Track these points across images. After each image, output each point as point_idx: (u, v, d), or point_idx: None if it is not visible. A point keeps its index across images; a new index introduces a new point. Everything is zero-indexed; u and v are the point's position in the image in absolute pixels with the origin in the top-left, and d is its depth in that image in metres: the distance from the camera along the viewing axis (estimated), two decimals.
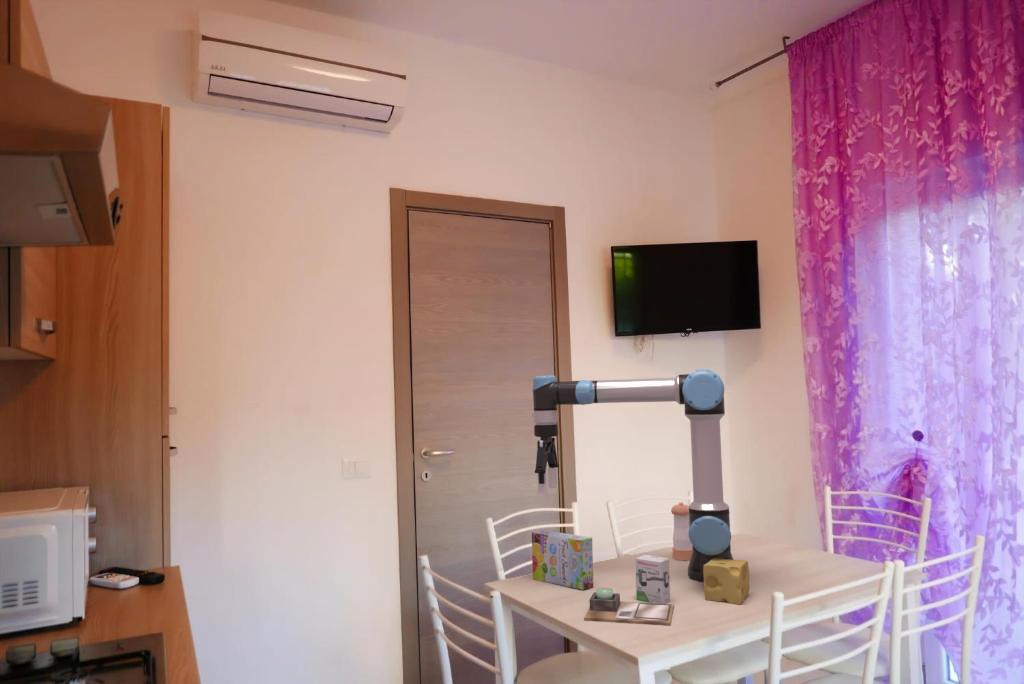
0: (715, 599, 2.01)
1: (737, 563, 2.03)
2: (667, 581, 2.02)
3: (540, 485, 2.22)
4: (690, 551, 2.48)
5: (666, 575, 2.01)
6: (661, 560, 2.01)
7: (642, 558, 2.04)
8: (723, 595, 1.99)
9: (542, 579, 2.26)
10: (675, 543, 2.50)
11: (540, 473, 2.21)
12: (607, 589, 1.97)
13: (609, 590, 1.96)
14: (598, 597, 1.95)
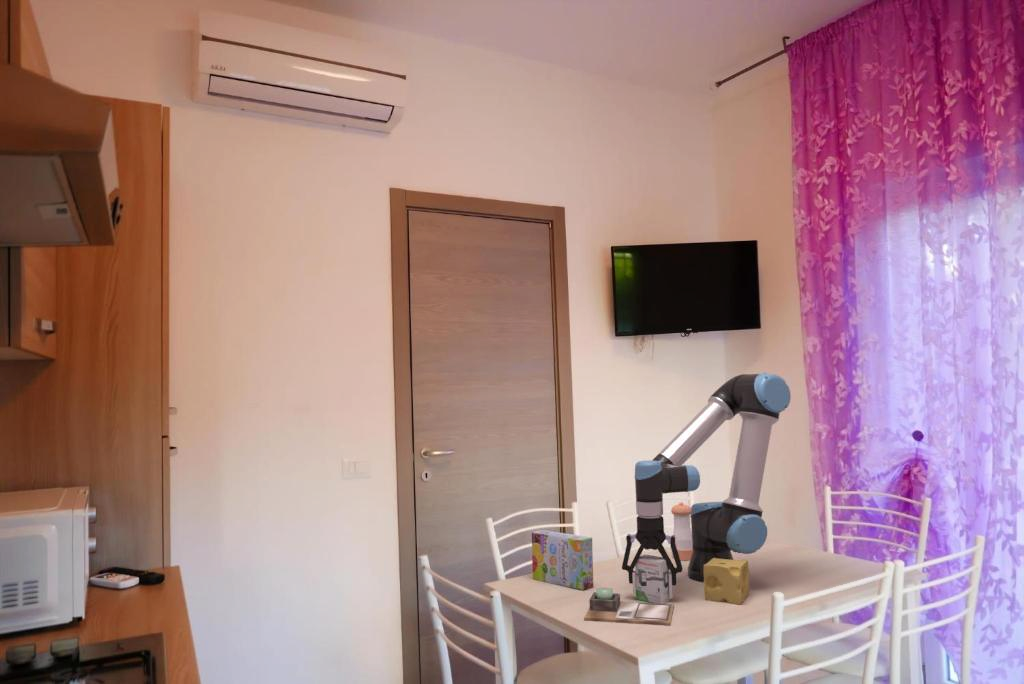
0: (715, 599, 2.01)
1: (737, 563, 2.03)
2: (667, 581, 2.02)
3: None
4: (690, 551, 2.48)
5: (666, 575, 2.01)
6: (661, 560, 2.01)
7: (642, 558, 2.04)
8: (723, 595, 1.99)
9: (542, 579, 2.26)
10: (675, 543, 2.50)
11: None
12: (607, 589, 1.97)
13: (609, 590, 1.96)
14: (598, 597, 1.95)
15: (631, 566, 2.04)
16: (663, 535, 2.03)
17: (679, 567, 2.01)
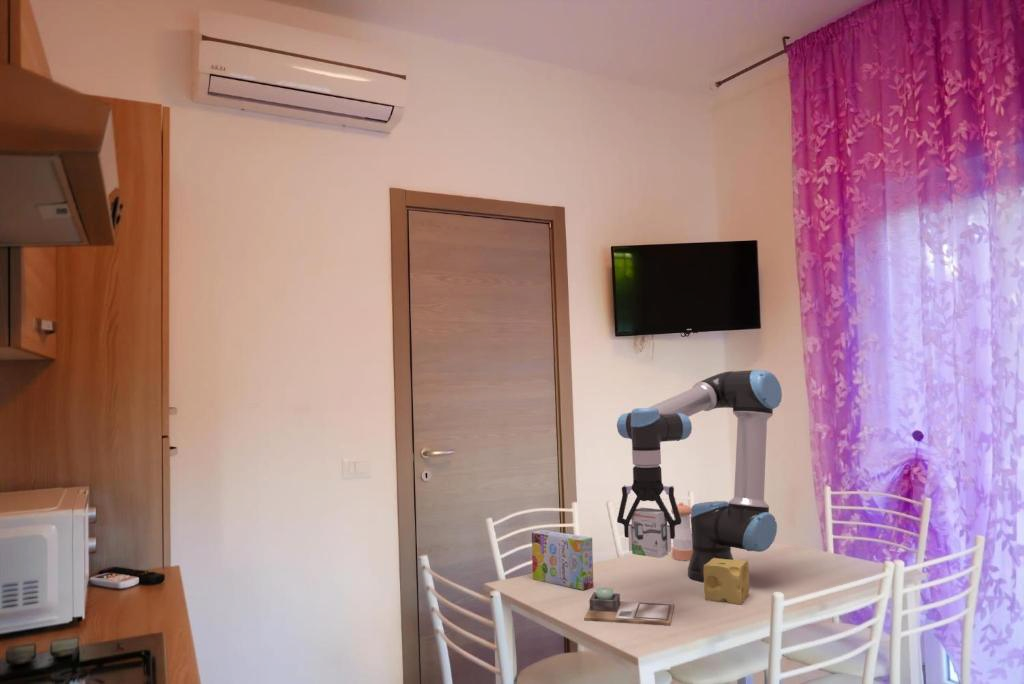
0: (715, 599, 2.01)
1: (737, 563, 2.03)
2: (665, 534, 1.90)
3: None
4: (690, 551, 2.48)
5: (664, 527, 1.90)
6: (658, 512, 1.90)
7: (638, 510, 1.93)
8: (723, 595, 1.99)
9: (542, 579, 2.26)
10: (675, 543, 2.50)
11: None
12: (607, 589, 1.97)
13: (609, 590, 1.96)
14: (598, 597, 1.95)
15: (627, 519, 1.93)
16: (661, 485, 1.91)
17: (678, 519, 1.89)
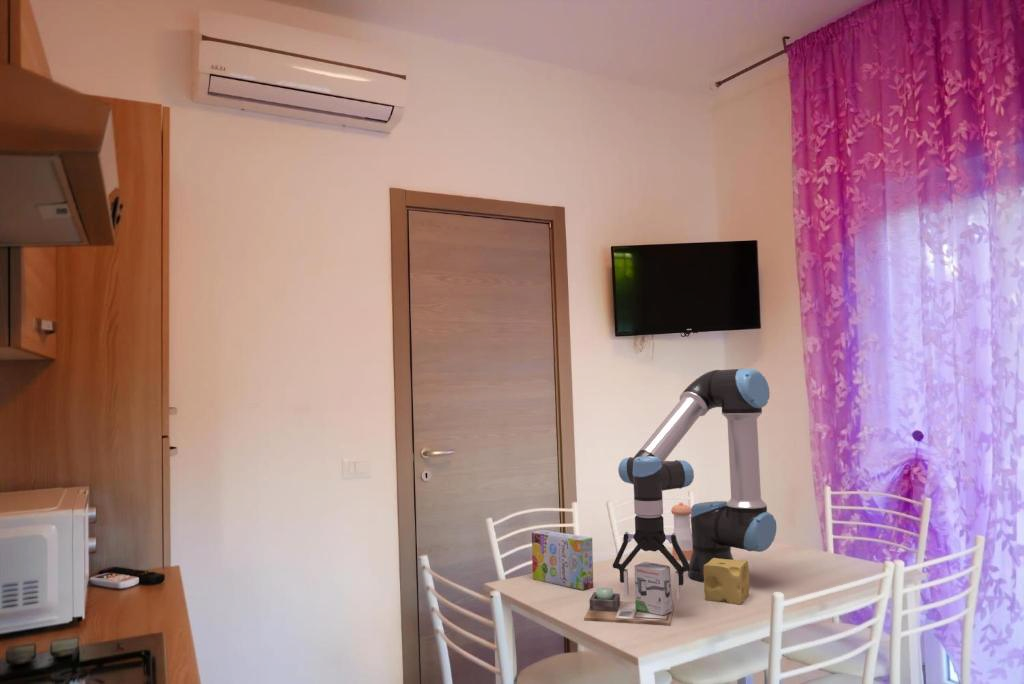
0: (715, 599, 2.01)
1: (737, 563, 2.03)
2: (668, 590, 1.89)
3: None
4: (690, 551, 2.48)
5: (667, 584, 1.89)
6: (662, 568, 1.89)
7: (641, 566, 1.92)
8: (723, 595, 1.99)
9: (542, 579, 2.26)
10: None
11: None
12: (607, 589, 1.97)
13: (609, 590, 1.96)
14: (598, 597, 1.95)
15: (623, 565, 1.92)
16: (662, 535, 1.90)
17: (686, 566, 1.88)
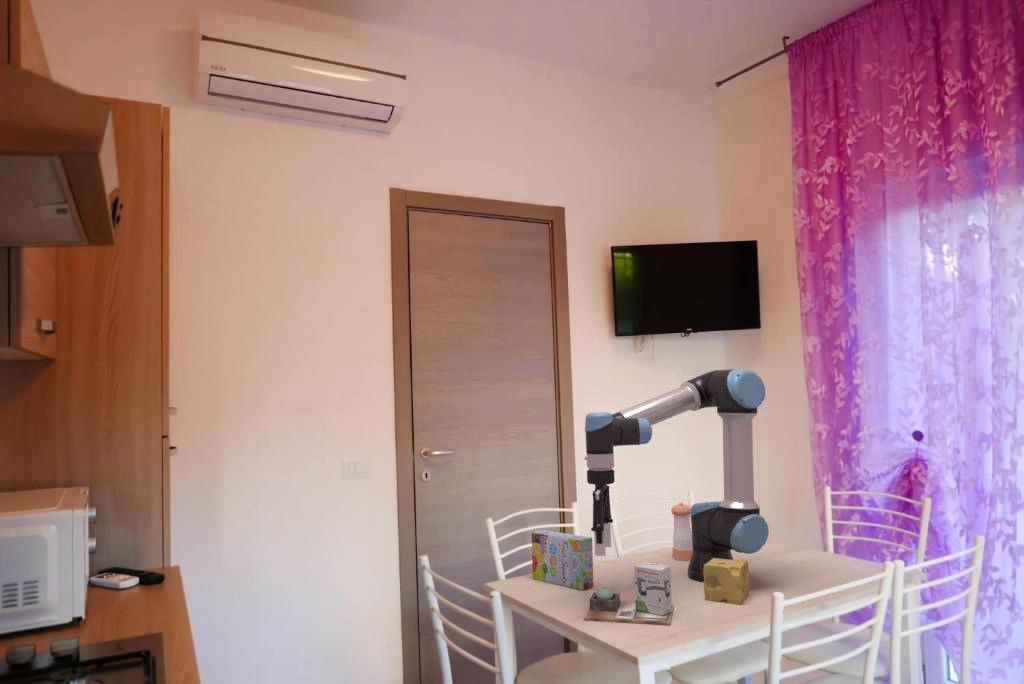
0: (715, 599, 2.01)
1: (737, 563, 2.03)
2: (668, 590, 1.89)
3: (597, 545, 1.92)
4: (690, 551, 2.48)
5: (667, 584, 1.89)
6: (662, 568, 1.89)
7: (641, 566, 1.92)
8: (723, 595, 1.99)
9: (542, 579, 2.26)
10: (675, 543, 2.50)
11: (598, 531, 1.91)
12: (607, 589, 1.97)
13: (609, 590, 1.96)
14: (598, 597, 1.95)
15: (603, 524, 1.92)
16: None
17: (610, 514, 2.05)
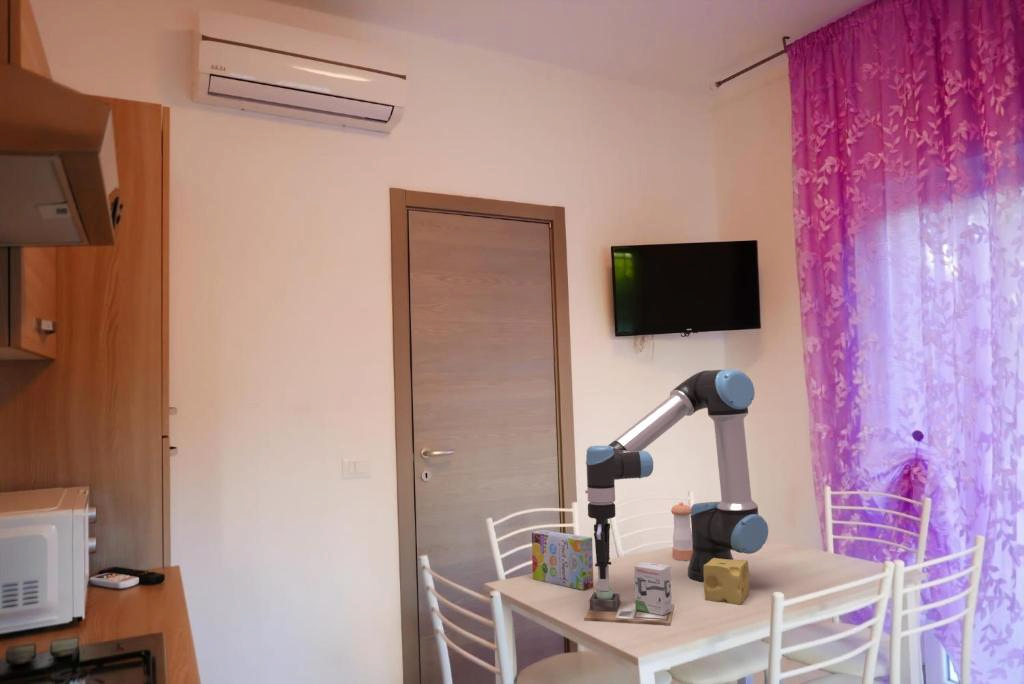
0: (715, 599, 2.01)
1: (737, 563, 2.03)
2: (668, 590, 1.89)
3: (601, 580, 1.96)
4: (690, 551, 2.48)
5: (667, 584, 1.89)
6: (662, 568, 1.89)
7: (641, 566, 1.92)
8: (723, 595, 1.99)
9: (542, 579, 2.26)
10: (675, 543, 2.50)
11: (601, 567, 1.95)
12: None
13: (609, 591, 1.96)
14: (598, 598, 1.95)
15: (606, 560, 1.95)
16: None
17: None
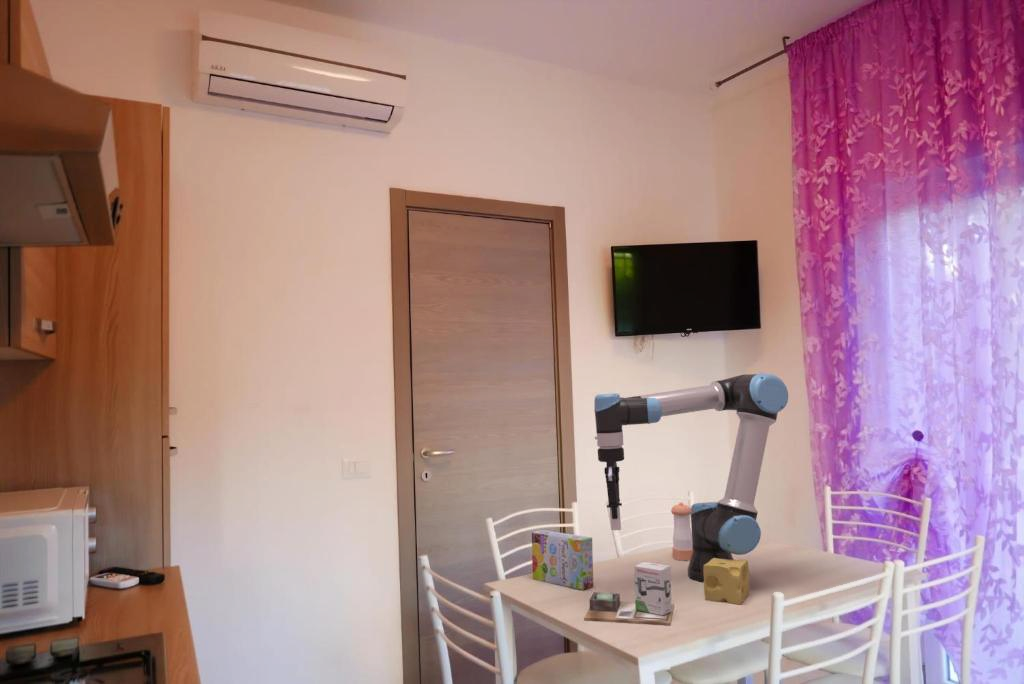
0: (715, 599, 2.01)
1: (737, 563, 2.03)
2: (668, 590, 1.89)
3: (613, 520, 2.06)
4: (690, 551, 2.48)
5: (667, 584, 1.89)
6: (662, 568, 1.89)
7: (641, 566, 1.92)
8: (723, 595, 1.99)
9: (542, 579, 2.26)
10: (675, 543, 2.50)
11: (613, 507, 2.05)
12: (607, 594, 1.97)
13: (609, 595, 1.96)
14: None
15: (617, 501, 2.05)
16: None
17: None
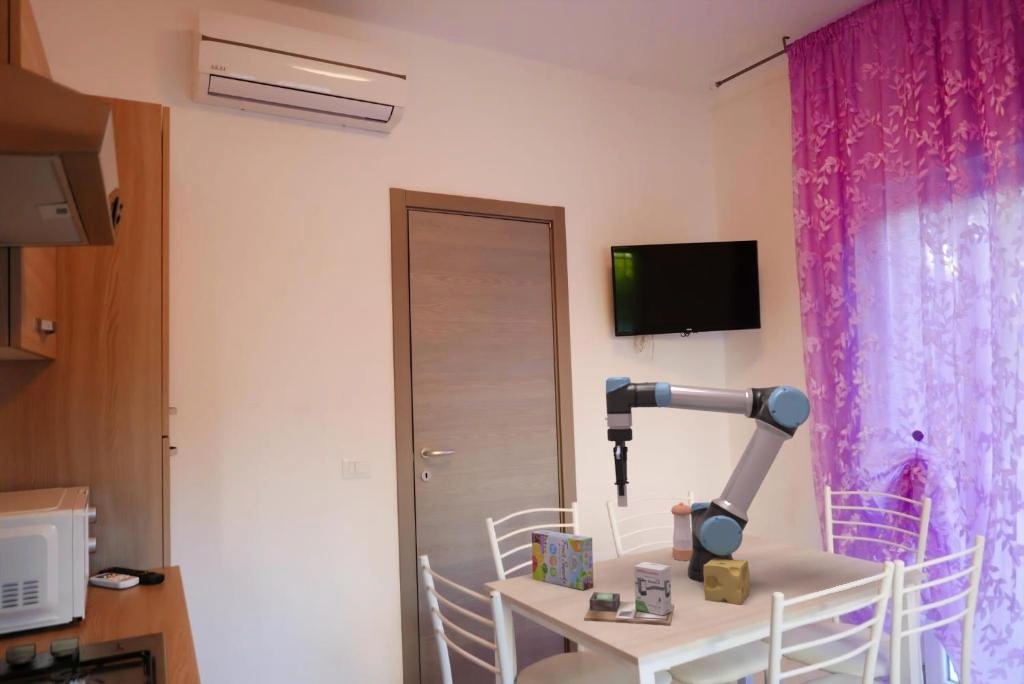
0: (715, 599, 2.01)
1: (737, 563, 2.03)
2: (668, 590, 1.89)
3: (620, 497, 2.17)
4: (690, 551, 2.48)
5: (667, 584, 1.89)
6: (662, 568, 1.89)
7: (641, 566, 1.92)
8: (723, 595, 1.99)
9: (542, 579, 2.26)
10: (675, 543, 2.50)
11: (620, 485, 2.15)
12: (607, 594, 1.97)
13: (609, 595, 1.96)
14: None
15: (624, 479, 2.16)
16: None
17: (626, 476, 2.20)
